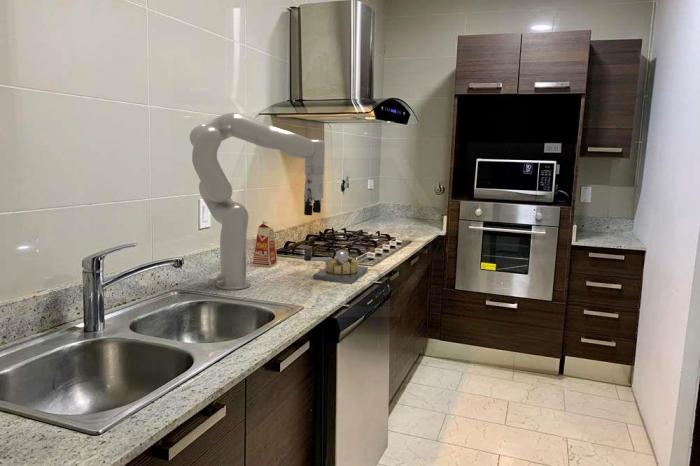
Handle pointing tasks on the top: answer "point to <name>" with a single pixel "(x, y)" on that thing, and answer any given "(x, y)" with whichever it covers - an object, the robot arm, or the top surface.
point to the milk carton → (265, 247)
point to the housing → (340, 278)
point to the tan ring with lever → (333, 263)
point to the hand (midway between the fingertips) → (312, 213)
